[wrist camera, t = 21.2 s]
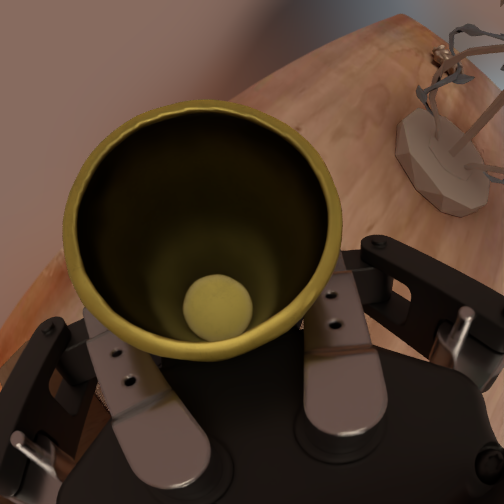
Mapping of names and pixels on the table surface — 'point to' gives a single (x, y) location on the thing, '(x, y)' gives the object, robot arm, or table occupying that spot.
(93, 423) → the wooden block
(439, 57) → the ornament
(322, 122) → the table surface
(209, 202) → the vase
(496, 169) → the table lamp
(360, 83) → the table surface
